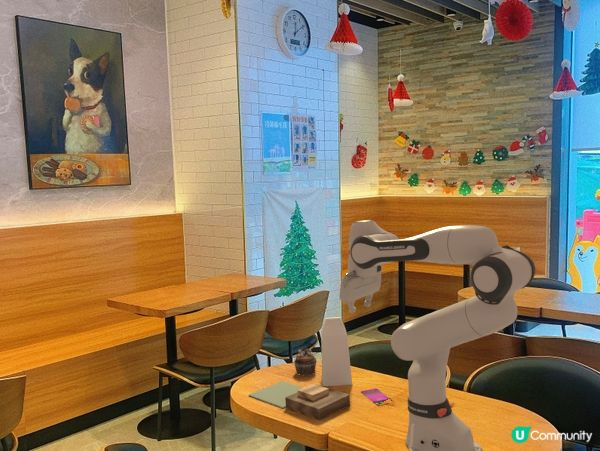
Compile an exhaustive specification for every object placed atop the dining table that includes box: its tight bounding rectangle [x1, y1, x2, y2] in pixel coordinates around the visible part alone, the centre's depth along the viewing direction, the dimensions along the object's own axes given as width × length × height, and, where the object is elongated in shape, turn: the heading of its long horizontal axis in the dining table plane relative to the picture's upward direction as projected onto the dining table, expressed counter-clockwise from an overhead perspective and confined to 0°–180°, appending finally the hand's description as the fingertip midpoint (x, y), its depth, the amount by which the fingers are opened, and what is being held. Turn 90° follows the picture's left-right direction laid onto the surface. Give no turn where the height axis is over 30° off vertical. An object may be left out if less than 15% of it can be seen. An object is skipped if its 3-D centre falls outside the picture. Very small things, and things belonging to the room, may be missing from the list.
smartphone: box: [360, 388, 391, 407], centre depth 210 cm, size 7×15×1 cm, turn 18°
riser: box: [285, 384, 351, 421], centre depth 204 cm, size 17×16×4 cm
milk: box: [320, 316, 353, 387], centre depth 229 cm, size 12×12×26 cm
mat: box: [248, 380, 304, 409], centre depth 218 cm, size 20×18×1 cm
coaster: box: [298, 383, 330, 401], centre depth 205 cm, size 8×8×2 cm
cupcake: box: [293, 347, 318, 376], centre depth 241 cm, size 10×10×10 cm
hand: (359, 309), depth 186 cm, fingers open, 8 cm apart
